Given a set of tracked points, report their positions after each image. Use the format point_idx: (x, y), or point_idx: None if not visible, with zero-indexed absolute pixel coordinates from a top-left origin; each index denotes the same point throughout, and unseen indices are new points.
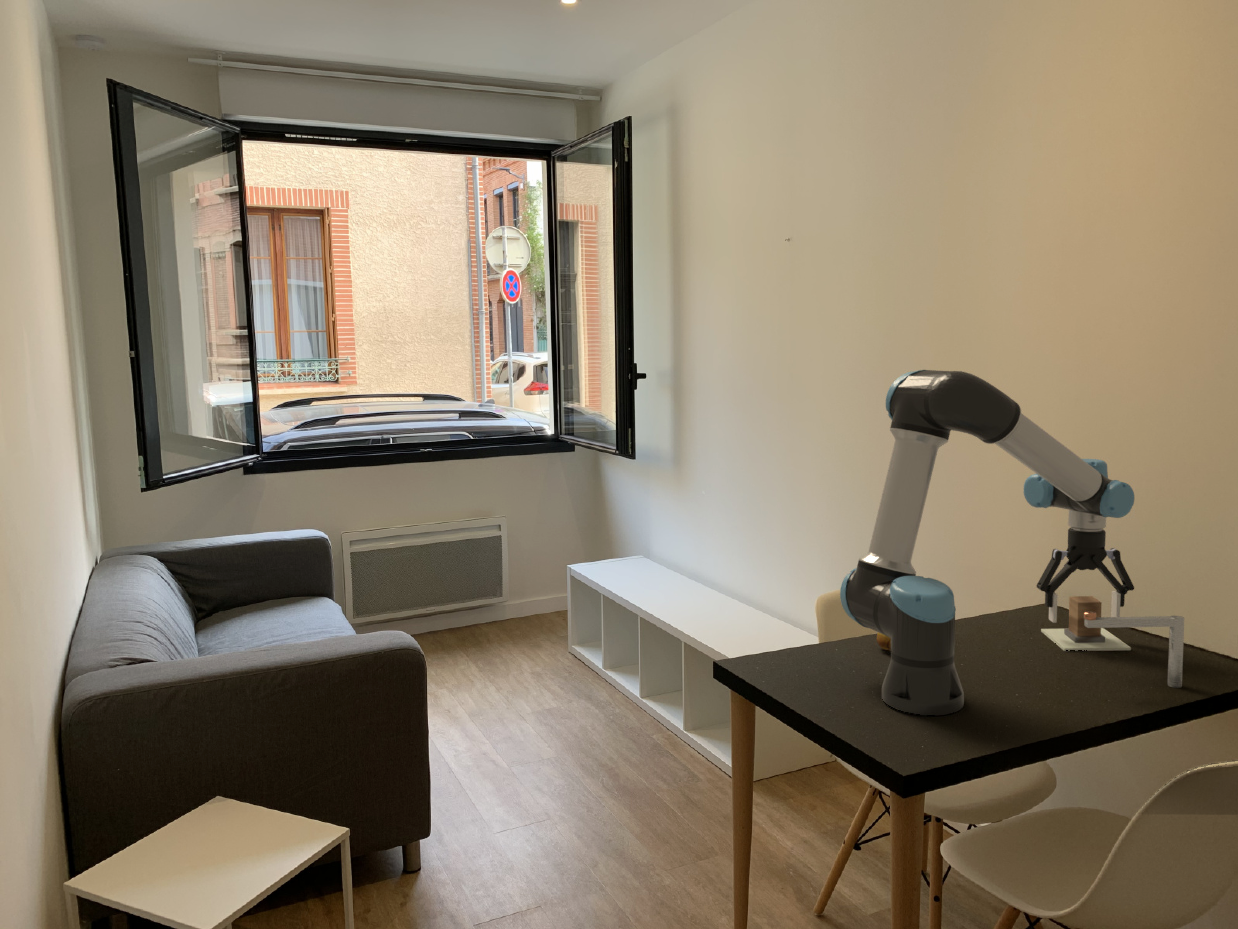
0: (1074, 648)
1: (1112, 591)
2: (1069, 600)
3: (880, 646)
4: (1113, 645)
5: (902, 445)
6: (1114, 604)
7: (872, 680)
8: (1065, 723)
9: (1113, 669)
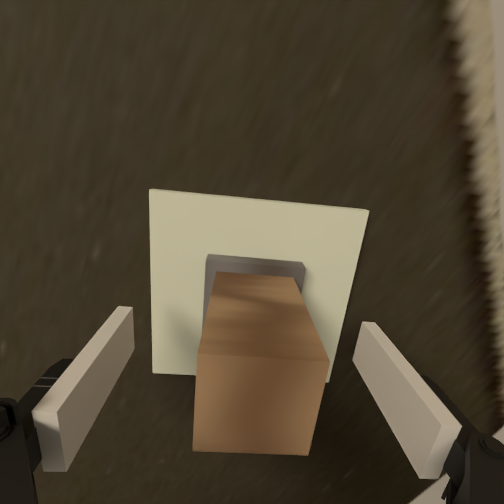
0: (181, 373)
1: (438, 430)
2: (200, 342)
3: None
4: None
5: None
6: (390, 396)
7: None
8: None
9: (215, 469)
